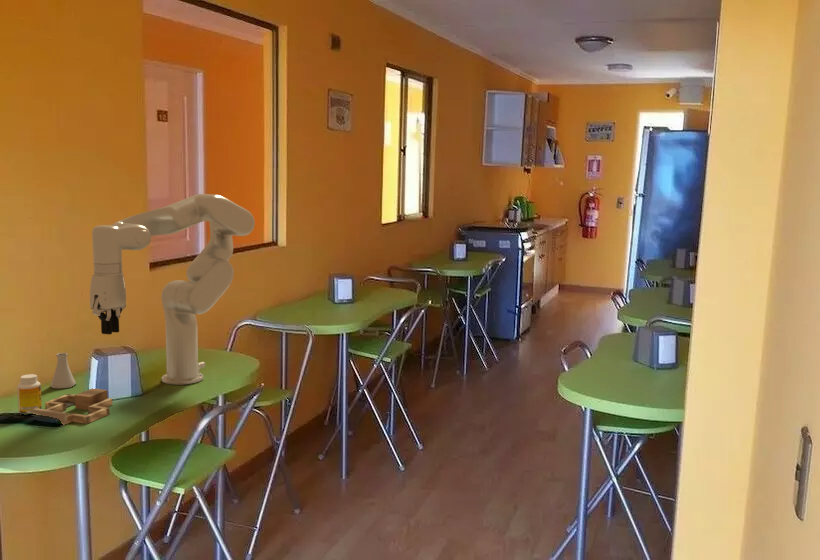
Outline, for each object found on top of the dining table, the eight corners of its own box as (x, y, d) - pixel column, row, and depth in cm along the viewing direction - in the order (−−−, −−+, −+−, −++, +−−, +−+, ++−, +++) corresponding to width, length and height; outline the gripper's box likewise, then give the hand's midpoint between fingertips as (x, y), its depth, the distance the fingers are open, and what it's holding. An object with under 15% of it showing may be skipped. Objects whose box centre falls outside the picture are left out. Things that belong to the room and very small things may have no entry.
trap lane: (70, 399, 211) (69, 389, 210) (126, 407, 205) (126, 396, 205) (18, 418, 194) (18, 407, 193) (78, 427, 188) (78, 416, 187)
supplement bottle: (44, 413, 198) (42, 376, 197) (21, 417, 195) (19, 380, 193) (39, 408, 202) (37, 372, 201) (16, 412, 199) (14, 375, 197)
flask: (49, 390, 219) (47, 357, 218) (51, 383, 226) (49, 352, 225) (75, 388, 222) (74, 355, 221) (77, 381, 229) (75, 350, 227)
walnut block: (93, 401, 210) (92, 388, 209) (107, 403, 208) (107, 390, 208) (75, 409, 203) (74, 395, 203) (90, 411, 202) (89, 397, 201)
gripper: (116, 265, 217) (118, 326, 220) (76, 271, 202) (79, 337, 205) (137, 266, 215) (139, 328, 217) (98, 273, 200) (101, 339, 202)
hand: (110, 332), depth 211 cm, fingers closed
